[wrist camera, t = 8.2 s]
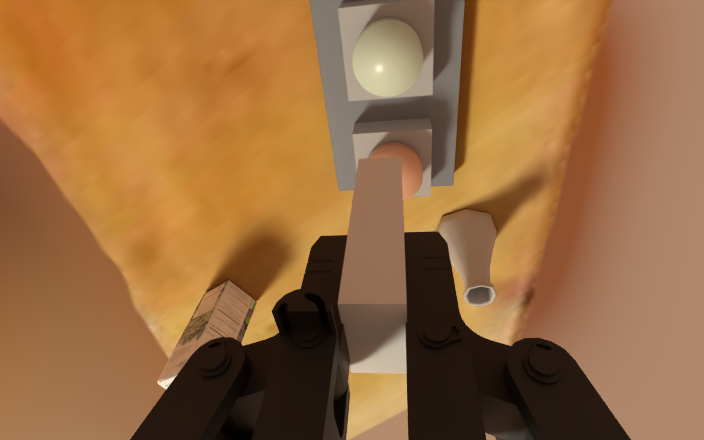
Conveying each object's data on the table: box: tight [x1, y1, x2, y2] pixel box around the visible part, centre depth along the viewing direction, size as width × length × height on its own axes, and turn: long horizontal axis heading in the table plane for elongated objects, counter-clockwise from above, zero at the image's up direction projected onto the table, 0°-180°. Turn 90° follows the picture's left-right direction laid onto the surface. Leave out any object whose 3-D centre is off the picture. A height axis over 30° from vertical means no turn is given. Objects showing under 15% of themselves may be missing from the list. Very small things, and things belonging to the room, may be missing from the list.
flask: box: [436, 209, 497, 307], centre depth 41 cm, size 7×7×10 cm
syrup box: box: [157, 280, 257, 389], centre depth 51 cm, size 6×6×14 cm
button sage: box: [352, 17, 423, 97], centre depth 30 cm, size 5×5×4 cm
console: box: [310, 0, 465, 197], centre depth 31 cm, size 28×12×4 cm, turn 6°
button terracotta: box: [368, 142, 423, 201], centre depth 36 cm, size 5×5×4 cm
